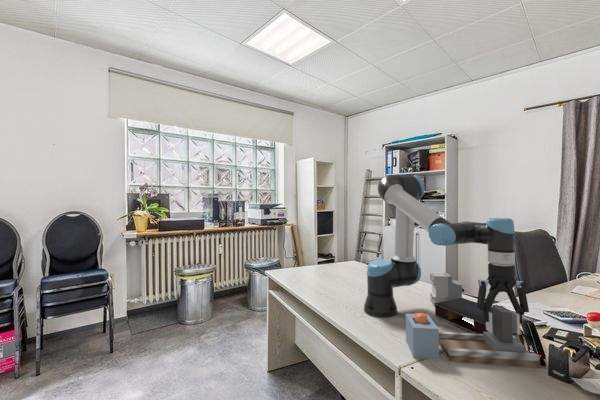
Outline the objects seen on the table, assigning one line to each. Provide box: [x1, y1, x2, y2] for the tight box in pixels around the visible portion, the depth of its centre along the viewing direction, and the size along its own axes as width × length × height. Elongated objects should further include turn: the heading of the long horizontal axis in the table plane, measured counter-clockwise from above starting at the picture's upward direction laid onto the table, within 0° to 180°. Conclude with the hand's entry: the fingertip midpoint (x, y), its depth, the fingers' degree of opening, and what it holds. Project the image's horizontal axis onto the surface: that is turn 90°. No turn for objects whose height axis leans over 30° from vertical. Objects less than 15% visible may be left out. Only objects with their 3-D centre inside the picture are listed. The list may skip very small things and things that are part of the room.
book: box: [434, 297, 516, 335], centre depth 120 cm, size 17×25×7 cm
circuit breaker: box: [429, 271, 465, 307], centre depth 143 cm, size 8×14×15 cm, turn 78°
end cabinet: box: [405, 313, 440, 360], centre depth 100 cm, size 8×12×10 cm, turn 171°
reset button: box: [414, 312, 428, 324], centre depth 100 cm, size 4×4×4 cm
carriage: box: [483, 305, 526, 353], centre depth 96 cm, size 8×10×13 cm
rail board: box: [439, 331, 541, 369], centre depth 97 cm, size 26×14×4 cm, turn 81°
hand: (502, 331), depth 96 cm, fingers open, 8 cm apart
